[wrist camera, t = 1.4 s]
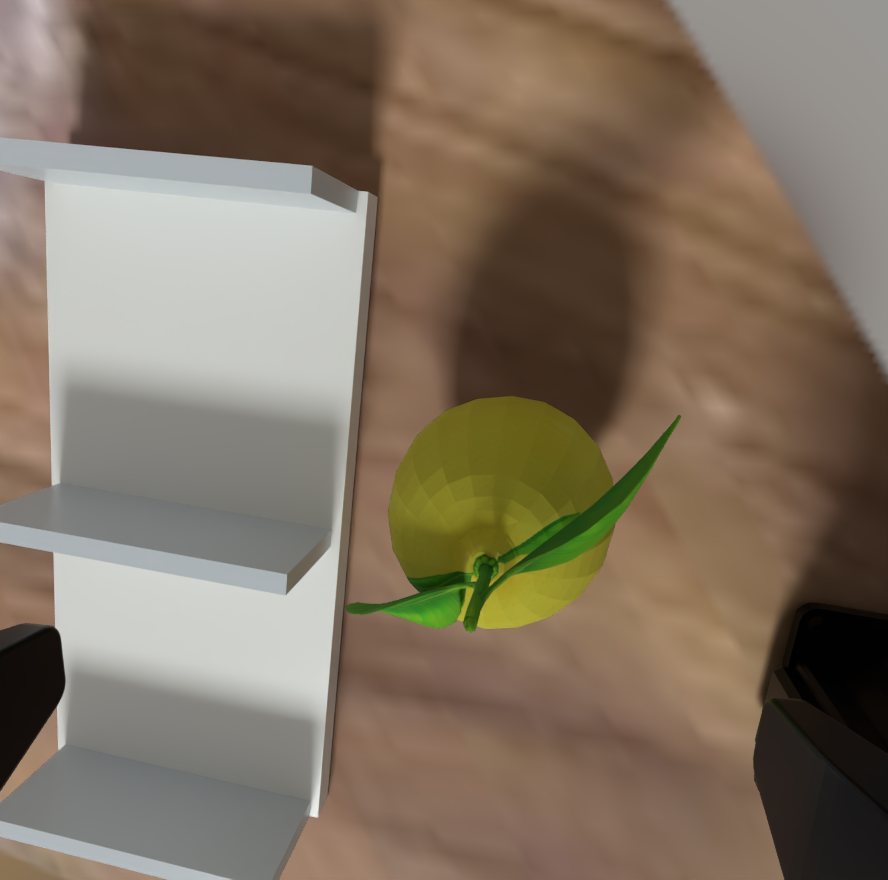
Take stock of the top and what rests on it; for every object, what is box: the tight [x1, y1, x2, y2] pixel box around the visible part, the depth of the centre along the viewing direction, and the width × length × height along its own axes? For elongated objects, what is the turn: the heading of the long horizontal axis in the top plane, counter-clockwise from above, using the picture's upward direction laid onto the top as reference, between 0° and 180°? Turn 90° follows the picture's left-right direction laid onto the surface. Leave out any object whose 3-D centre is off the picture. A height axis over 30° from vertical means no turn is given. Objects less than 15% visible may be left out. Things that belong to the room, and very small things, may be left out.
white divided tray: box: [0, 138, 378, 880], centre depth 20 cm, size 10×21×4 cm, turn 174°
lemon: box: [346, 396, 681, 632], centre depth 15 cm, size 7×6×10 cm
